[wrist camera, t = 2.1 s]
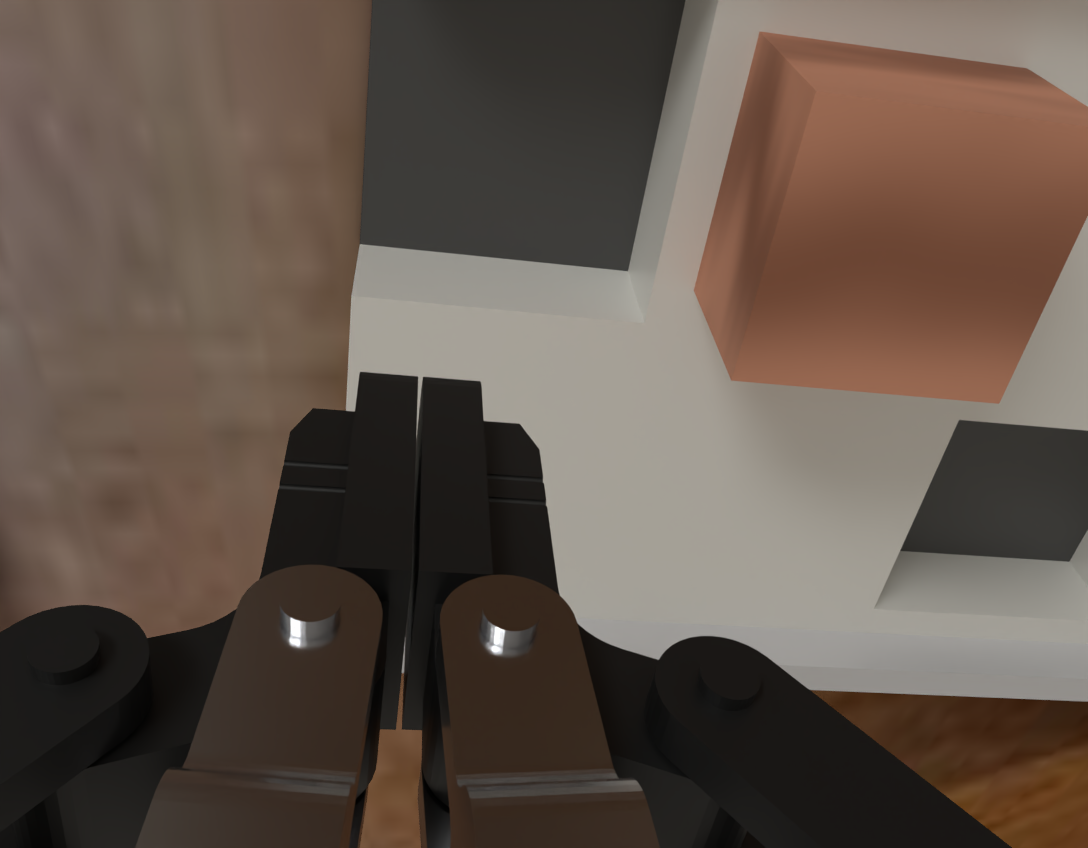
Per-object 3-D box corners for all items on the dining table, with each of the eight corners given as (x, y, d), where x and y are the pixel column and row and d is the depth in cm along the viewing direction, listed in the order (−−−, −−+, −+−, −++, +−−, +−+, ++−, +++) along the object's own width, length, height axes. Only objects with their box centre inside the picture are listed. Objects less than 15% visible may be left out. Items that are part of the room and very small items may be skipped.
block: (759, 31, 21) (815, 91, 18) (1027, 68, 22) (1127, 131, 19) (693, 290, 25) (731, 380, 21) (928, 314, 26) (999, 403, 22)
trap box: (387, -271, 20) (367, -263, 16) (1788, -29, 25) (2110, 36, 20) (344, 560, 33) (325, 712, 28) (1294, 615, 38) (1421, 751, 33)
